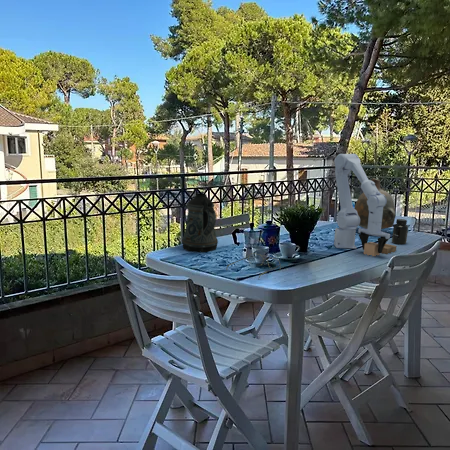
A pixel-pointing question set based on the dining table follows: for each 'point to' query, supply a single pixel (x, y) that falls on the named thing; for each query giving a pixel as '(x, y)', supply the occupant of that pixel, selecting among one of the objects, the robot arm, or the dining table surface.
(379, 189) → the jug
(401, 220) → the supplement bottle
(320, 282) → the dining table surface
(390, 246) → the walnut base
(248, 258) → the eyeglasses
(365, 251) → the terracotta cube
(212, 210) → the beer stein
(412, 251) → the dining table surface
